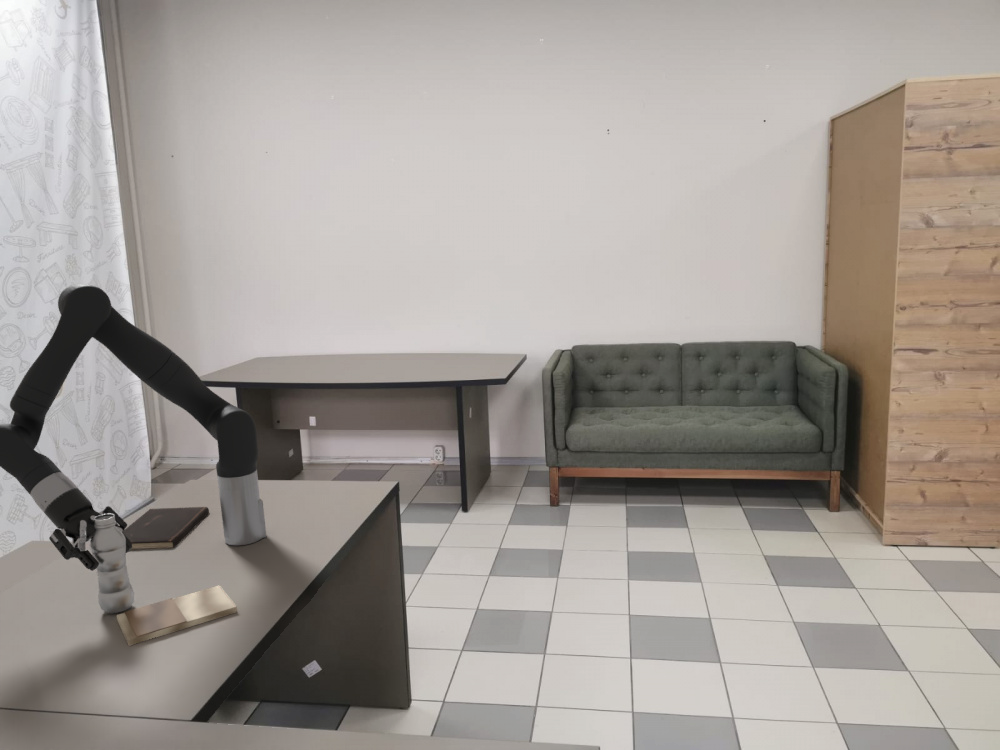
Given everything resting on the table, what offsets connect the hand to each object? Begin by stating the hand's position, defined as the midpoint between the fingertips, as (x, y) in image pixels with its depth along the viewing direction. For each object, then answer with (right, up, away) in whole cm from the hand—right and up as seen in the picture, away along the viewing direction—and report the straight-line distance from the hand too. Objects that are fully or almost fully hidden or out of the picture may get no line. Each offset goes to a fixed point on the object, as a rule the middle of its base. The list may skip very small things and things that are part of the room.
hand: (113, 558), depth 157 cm
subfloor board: (+14, -11, -1) cm, 18 cm away
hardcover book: (-9, -4, +44) cm, 45 cm away
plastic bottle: (0, -11, +2) cm, 11 cm away
